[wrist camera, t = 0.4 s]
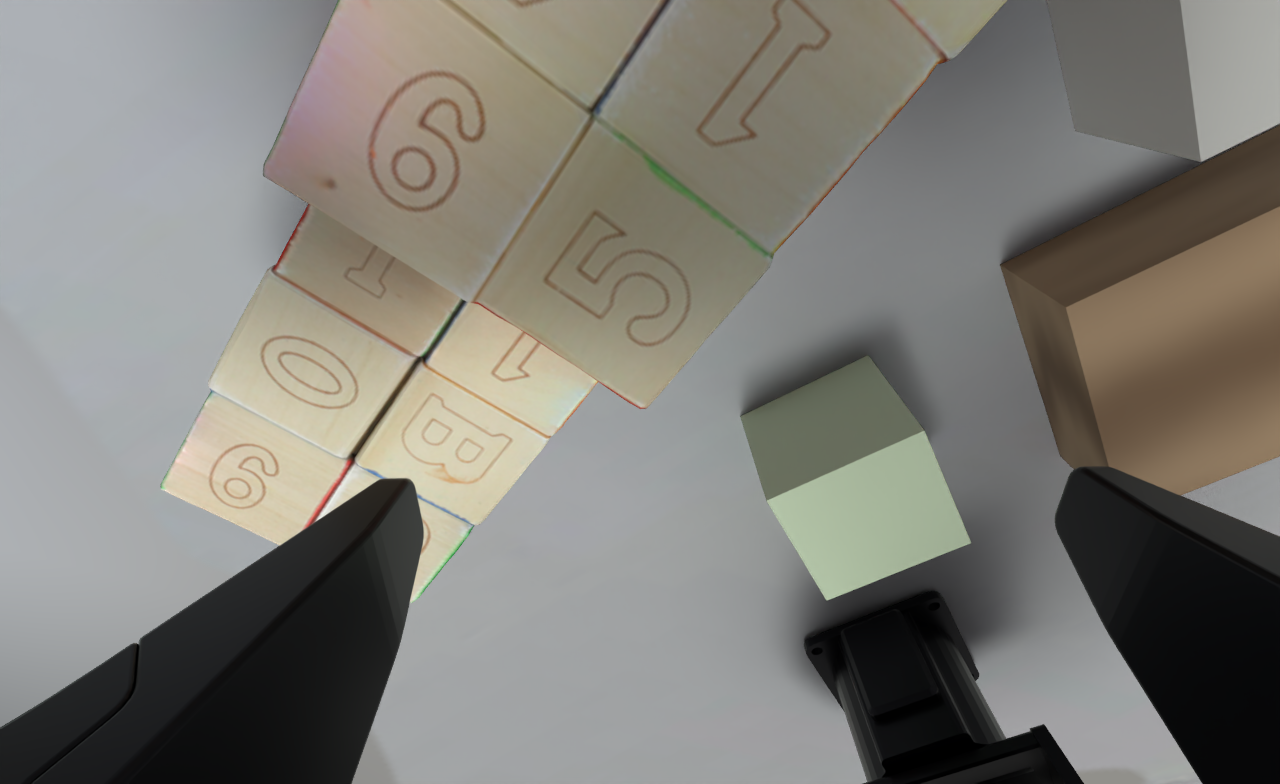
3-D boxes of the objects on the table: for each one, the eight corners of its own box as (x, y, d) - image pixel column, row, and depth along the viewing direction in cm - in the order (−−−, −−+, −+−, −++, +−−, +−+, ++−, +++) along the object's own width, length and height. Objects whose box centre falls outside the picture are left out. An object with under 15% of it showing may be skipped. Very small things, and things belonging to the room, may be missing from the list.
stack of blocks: (478, 412, 24) (368, 727, 13) (316, 316, 22) (34, 597, 11) (934, -183, 16) (1554, -576, 5) (747, -418, 14) (1151, -1771, 3)
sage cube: (911, 454, 26) (971, 543, 21) (792, 506, 27) (826, 600, 22) (867, 354, 23) (924, 430, 19) (739, 415, 24) (766, 500, 20)
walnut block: (1304, 345, 24) (1420, 400, 21) (1055, 451, 26) (1123, 518, 23) (1287, 115, 20) (1427, 136, 17) (995, 261, 22) (1065, 307, 19)
